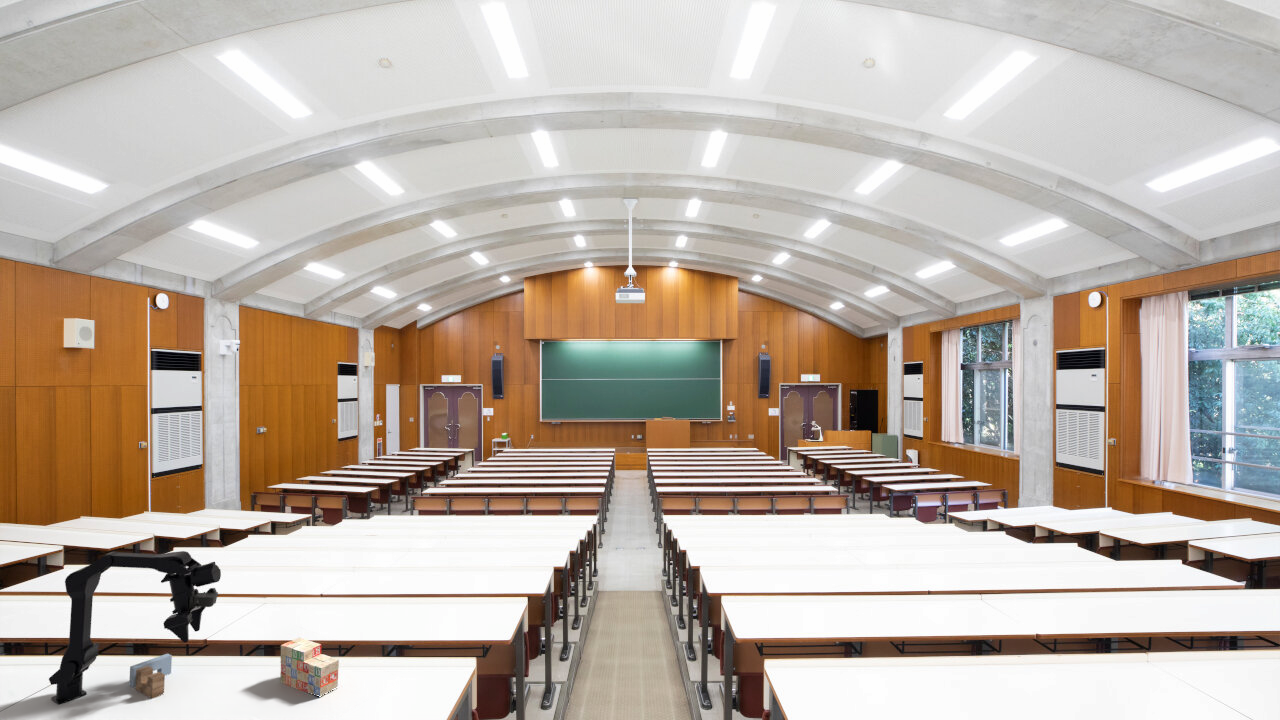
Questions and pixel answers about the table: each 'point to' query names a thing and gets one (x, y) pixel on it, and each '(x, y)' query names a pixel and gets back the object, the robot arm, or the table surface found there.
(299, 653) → the stack of blocks
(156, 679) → the walnut notched block
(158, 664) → the slate notched plate
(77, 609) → the robot arm
